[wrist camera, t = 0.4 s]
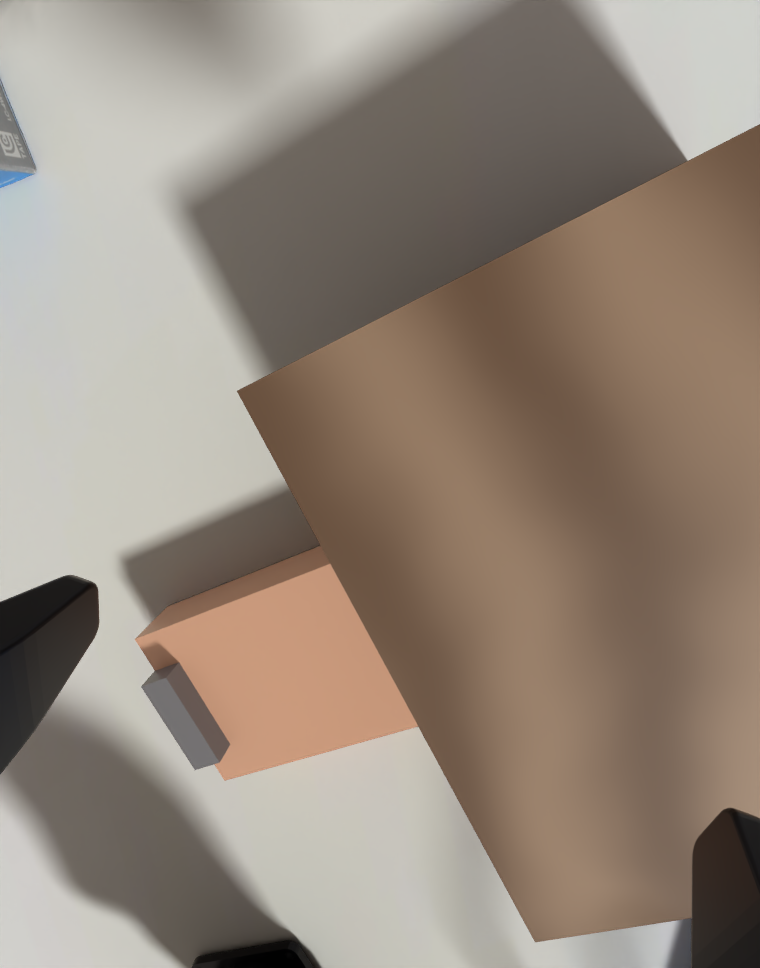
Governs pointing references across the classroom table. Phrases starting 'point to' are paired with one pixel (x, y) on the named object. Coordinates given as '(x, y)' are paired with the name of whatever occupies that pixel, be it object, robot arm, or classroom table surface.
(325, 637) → the pink slab with nub
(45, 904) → the classroom table surface
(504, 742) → the low shelf
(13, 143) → the label tape box
